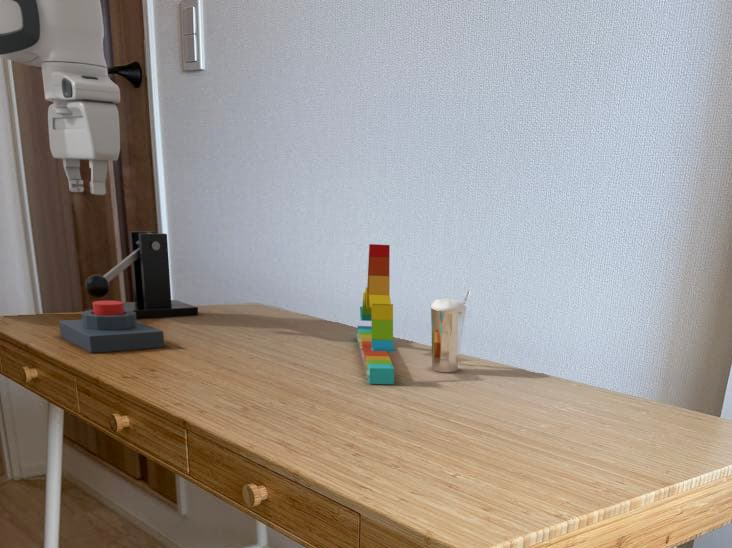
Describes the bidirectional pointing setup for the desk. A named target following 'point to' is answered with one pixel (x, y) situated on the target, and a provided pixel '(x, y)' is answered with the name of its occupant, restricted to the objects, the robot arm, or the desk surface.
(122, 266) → the tap lever
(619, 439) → the desk surface
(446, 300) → the milkshake
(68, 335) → the button block
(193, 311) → the black lever stand
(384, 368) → the chart
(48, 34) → the robot arm
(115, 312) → the button
